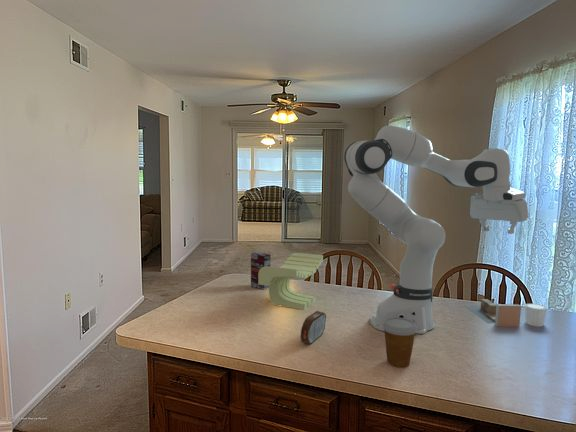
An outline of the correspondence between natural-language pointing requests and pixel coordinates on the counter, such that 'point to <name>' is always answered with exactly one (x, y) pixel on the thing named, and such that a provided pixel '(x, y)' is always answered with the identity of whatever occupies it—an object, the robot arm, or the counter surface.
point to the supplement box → (258, 267)
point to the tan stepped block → (489, 308)
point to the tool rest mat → (480, 313)
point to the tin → (313, 327)
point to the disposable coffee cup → (399, 340)
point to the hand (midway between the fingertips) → (498, 232)
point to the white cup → (535, 314)
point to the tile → (508, 315)
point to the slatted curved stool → (280, 278)
